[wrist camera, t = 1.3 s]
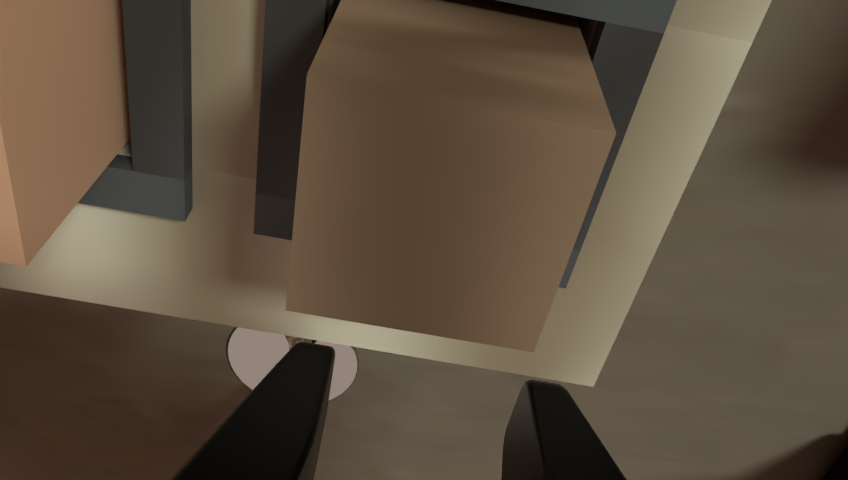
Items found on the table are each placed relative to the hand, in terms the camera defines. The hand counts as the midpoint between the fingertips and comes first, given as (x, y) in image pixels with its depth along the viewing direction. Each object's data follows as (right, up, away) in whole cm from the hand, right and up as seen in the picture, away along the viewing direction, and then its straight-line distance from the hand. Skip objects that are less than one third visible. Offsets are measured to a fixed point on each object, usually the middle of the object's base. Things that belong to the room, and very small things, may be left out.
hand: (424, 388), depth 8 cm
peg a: (0, +5, +7) cm, 8 cm away
